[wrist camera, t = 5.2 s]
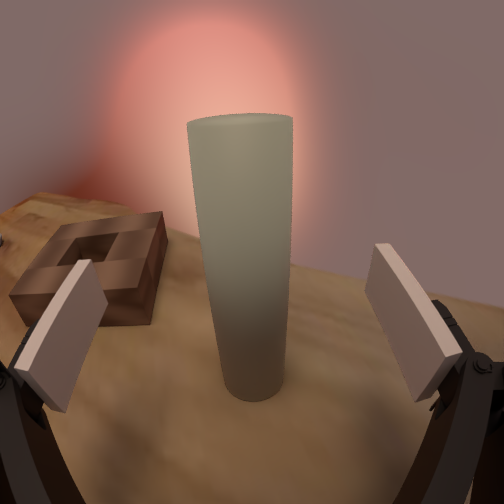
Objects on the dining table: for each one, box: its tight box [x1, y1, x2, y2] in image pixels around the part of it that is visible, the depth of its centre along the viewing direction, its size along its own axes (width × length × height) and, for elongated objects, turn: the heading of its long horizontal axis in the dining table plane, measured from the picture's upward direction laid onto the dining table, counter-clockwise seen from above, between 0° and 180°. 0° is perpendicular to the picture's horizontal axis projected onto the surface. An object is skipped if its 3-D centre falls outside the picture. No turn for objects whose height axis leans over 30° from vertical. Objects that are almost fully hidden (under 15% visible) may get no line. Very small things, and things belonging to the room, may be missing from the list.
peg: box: [187, 113, 293, 402], centre depth 15 cm, size 4×4×16 cm
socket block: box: [9, 211, 168, 326], centre depth 28 cm, size 14×14×4 cm
